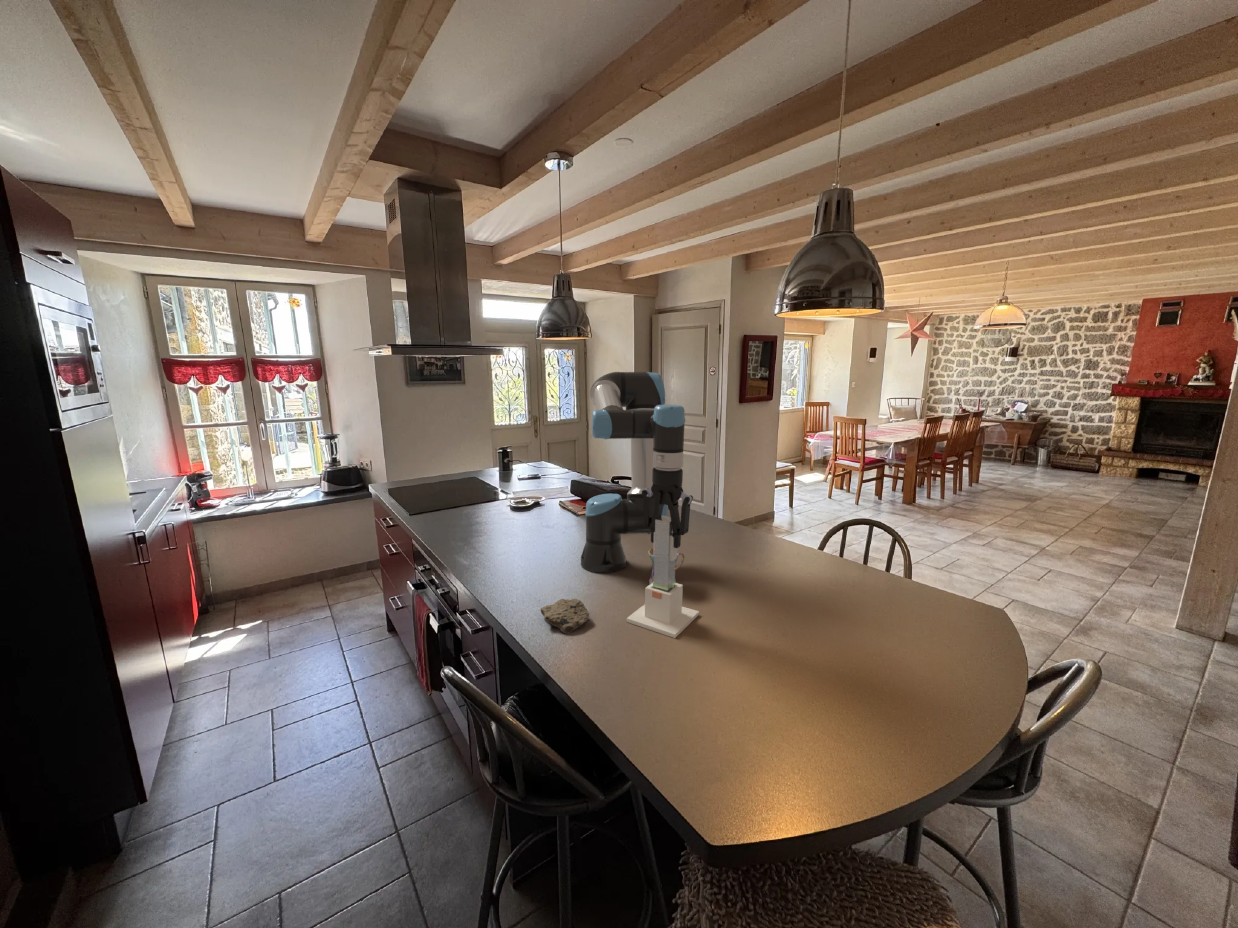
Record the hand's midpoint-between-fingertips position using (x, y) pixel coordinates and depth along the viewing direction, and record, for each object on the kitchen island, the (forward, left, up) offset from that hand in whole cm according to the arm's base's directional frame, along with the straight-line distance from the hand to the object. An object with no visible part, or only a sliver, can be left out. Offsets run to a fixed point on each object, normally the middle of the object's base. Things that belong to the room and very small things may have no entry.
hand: (665, 556), depth 126 cm
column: (0, 0, -10) cm, 10 cm away
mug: (-19, -9, -17) cm, 27 cm away
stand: (0, 0, -17) cm, 17 cm away
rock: (+16, -20, -18) cm, 31 cm away
